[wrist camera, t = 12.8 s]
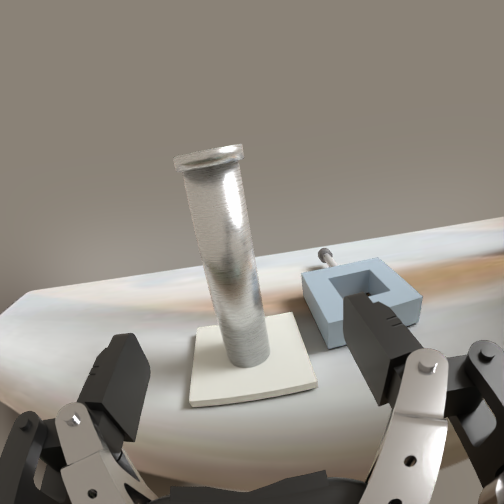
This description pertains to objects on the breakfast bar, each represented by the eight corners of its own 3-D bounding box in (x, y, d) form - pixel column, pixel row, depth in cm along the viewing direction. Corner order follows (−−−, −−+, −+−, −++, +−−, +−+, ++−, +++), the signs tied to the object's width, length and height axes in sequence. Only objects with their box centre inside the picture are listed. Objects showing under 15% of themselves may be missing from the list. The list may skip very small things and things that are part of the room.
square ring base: (355, 258, 39) (355, 238, 38) (418, 322, 24) (422, 296, 23) (291, 270, 39) (288, 251, 38) (328, 349, 24) (328, 323, 22)
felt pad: (292, 317, 29) (291, 311, 29) (317, 387, 20) (317, 381, 19) (199, 333, 29) (197, 327, 28) (191, 407, 20) (188, 401, 19)
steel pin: (271, 332, 26) (240, 143, 20) (278, 365, 22) (243, 143, 15) (223, 341, 26) (179, 155, 20) (223, 374, 22) (166, 158, 15)
